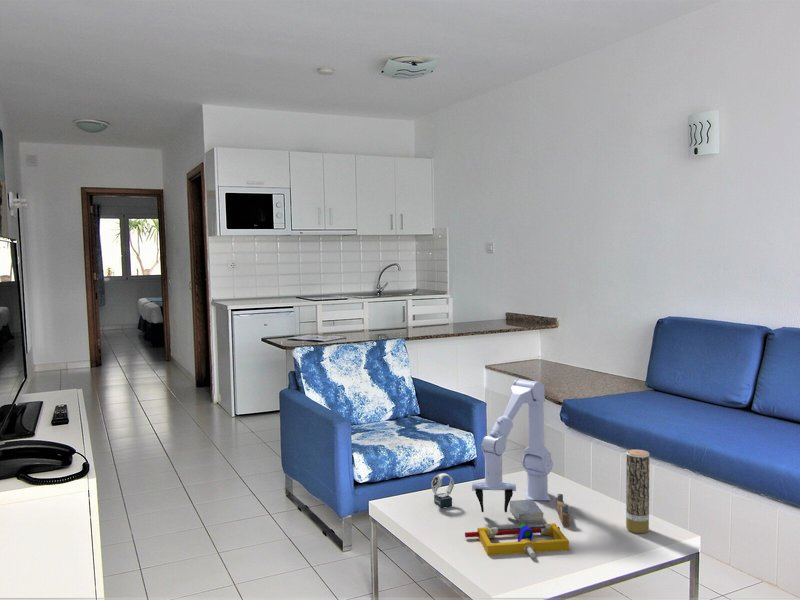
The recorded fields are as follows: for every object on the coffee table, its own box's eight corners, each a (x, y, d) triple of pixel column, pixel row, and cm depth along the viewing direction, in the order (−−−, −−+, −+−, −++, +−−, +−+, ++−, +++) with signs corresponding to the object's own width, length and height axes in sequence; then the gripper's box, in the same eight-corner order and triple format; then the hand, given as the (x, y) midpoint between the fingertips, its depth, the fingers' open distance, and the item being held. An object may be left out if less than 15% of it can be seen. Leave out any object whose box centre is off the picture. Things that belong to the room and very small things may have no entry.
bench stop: (556, 509, 232) (556, 492, 232) (562, 509, 232) (562, 492, 232) (562, 526, 217) (562, 508, 217) (569, 526, 217) (569, 508, 217)
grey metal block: (509, 512, 231) (509, 500, 231) (532, 510, 232) (532, 499, 232) (519, 526, 219) (519, 514, 219) (543, 524, 220) (543, 512, 220)
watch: (429, 504, 239) (428, 473, 238) (449, 500, 242) (449, 470, 241) (435, 509, 234) (435, 478, 233) (456, 505, 237) (456, 475, 236)
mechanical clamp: (464, 518, 211) (557, 513, 214) (464, 538, 211) (557, 532, 214) (476, 543, 193) (578, 537, 196) (476, 565, 193) (578, 558, 196)
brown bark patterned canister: (653, 530, 213) (653, 453, 211) (640, 536, 209) (640, 457, 207) (634, 523, 219) (635, 448, 217) (621, 529, 215) (622, 452, 213)
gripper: (472, 475, 222) (472, 515, 223) (516, 475, 221) (516, 516, 222) (471, 468, 229) (472, 507, 230) (514, 468, 228) (515, 508, 229)
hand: (494, 511), depth 226 cm, fingers open, 7 cm apart
